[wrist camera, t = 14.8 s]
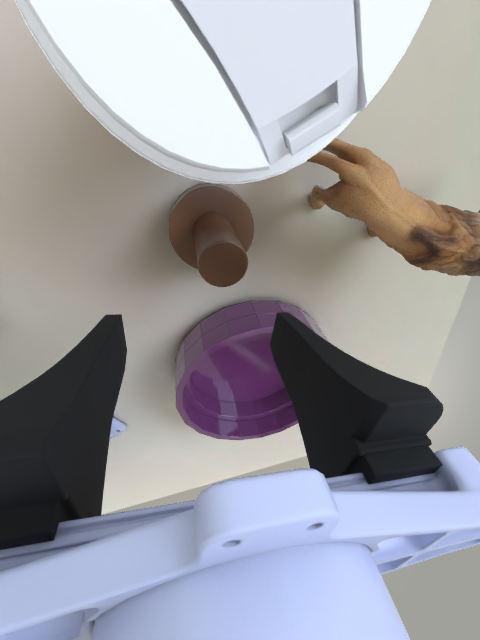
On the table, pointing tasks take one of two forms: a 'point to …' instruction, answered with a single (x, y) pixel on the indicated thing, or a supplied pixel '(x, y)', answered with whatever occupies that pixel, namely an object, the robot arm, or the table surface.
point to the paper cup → (224, 74)
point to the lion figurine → (399, 212)
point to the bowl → (235, 373)
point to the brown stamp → (212, 232)
